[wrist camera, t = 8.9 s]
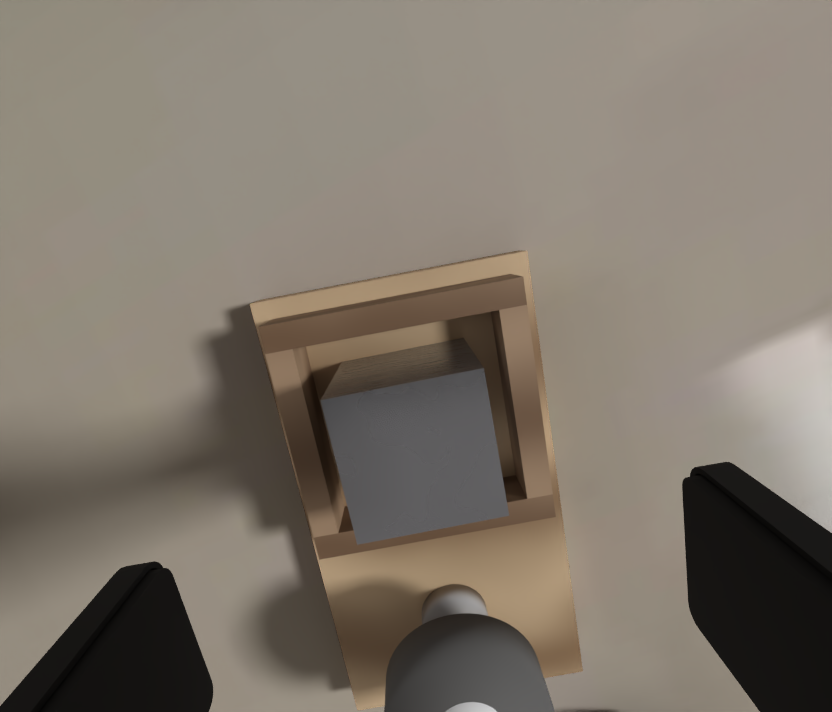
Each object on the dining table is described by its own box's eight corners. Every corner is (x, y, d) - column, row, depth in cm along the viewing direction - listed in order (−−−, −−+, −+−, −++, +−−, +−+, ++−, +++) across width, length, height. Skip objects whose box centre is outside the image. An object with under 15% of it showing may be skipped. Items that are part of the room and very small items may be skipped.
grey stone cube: (341, 361, 19) (320, 400, 14) (463, 337, 19) (483, 368, 14) (368, 473, 20) (357, 544, 15) (484, 451, 20) (509, 515, 15)
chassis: (260, 299, 20) (231, 310, 17) (518, 250, 20) (541, 250, 16) (360, 682, 24) (353, 753, 21) (571, 645, 24) (599, 710, 21)
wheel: (371, 628, 18) (367, 676, 16) (529, 600, 18) (544, 645, 16) (402, 752, 19) (401, 810, 17) (548, 727, 19) (565, 782, 17)
